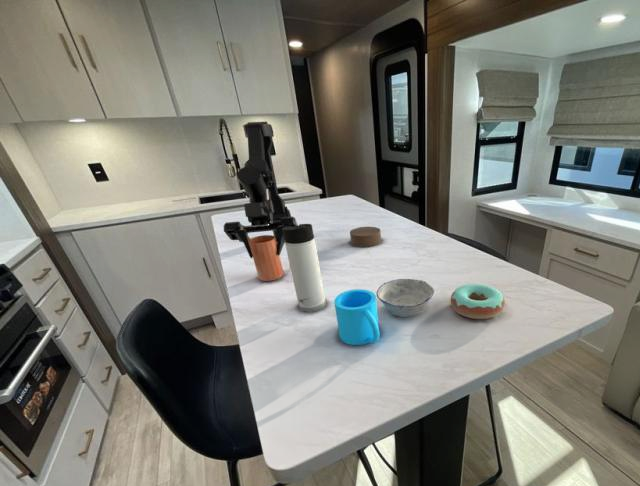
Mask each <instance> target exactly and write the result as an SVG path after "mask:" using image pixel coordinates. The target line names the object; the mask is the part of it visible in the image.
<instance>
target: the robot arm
mask: <svg viewBox="0 0 640 486" xmlns="http://www.w3.org/2000/svg"><path fill="white" fill-rule="evenodd" d="M242 128H243V132H244V136H245V139H247V150H248V159H247V160H246V162H244V165H243V167H242V168H240V169H239V170H238V173H237V179H238V180H239V181H238V182H239V183H240V184H241V186H242V188H243V190H244V192H245V193H246V195H247V196H248V197H249V203H243V207H244V214H245V217H246V218H247V222H248V223H250V225H244V224H242V223H241V222H240V221H239V220H238V221H228V222H225V223H224V225H223V232H224V234H225V235H226V236H227V237H228V238H229V240H231V241H238V242H240V243H243V245H244V247H245V249H246V252H247V255H248V256H249V258H250V259H253V256H252V253H251V249H250V246H249V242H248V241H249V240H250V239H251V238H250V237H249V234H252V233H260V232H262V233H265V232H272V234H273V236H274V237H275V239H276V243H277V254H278V255H279V256H280V255H281V253H282V250H283V247H284V245H285V240H284V235H283V231H282V228H284V227H288V226H291V227H292V226H299V224H298V223H297V220H296V217H294V216H292V214H291V211H290V209H289V208H288V206H286V203H285V201H284V200H283V198H282V197H281V196H280V195H279V191H278V190H279V189H278V185H277V178H276V175H275V170H274V164H273V160H272V159H273V158H272V154H271V150H272V147H273V145H274V140H273V137H274V129H273V126H272V124H271V123H268V121H248V122H247V123H245V124H243V125H242Z"/></svg>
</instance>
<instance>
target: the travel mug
mask: <svg viewBox="0 0 640 486" xmlns="http://www.w3.org/2000/svg"><path fill="white" fill-rule="evenodd" d="M282 231H283V235H284V240H285V243H284V245H285V250H286V254H287V260H288V264H289V268H290V273H291V277H292V281H293V285H294V291H295V295H296V300H297V304H298V308H299V309H300V310H301V311H302V312H307V313H310V312H311V313H313V312H316V311H319V310H322V309H323V308H324V307H325V306H326V298H325V291H324V284H323V279H322V274H321V273H322V272H321V268H320V263H319V257H318V256H319V255H318V251H317V244H316V240H315V236H314V229H313V225H312V223H301V224H300V223H299V224H298V226H292V227H291V226H288V227H284V228H282Z"/></svg>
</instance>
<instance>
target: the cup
mask: <svg viewBox="0 0 640 486" xmlns="http://www.w3.org/2000/svg"><path fill="white" fill-rule="evenodd" d="M248 242H249V246H250V249H251V253H252V256H253V258H252V259H253V260H252V261H253V262H254V267H255V270H256V274H257V277H258V279H259V280H260V281H263V282H270V281H276V280H279V279H280V278H282V277H283V276H284V268H283V264H282V261H281V257H280V255H278V254H277V241H276V239H275V237H274V235H272V234H271V235H270V234H265V235H264V234H262V235H258V236H253V237H251V238H250V240H249V241H248Z"/></svg>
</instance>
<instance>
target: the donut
mask: <svg viewBox="0 0 640 486" xmlns="http://www.w3.org/2000/svg"><path fill="white" fill-rule="evenodd" d="M450 304H451V307H452V309H453V310H454V311H455V312H456V313H457V314H458V315H461V316H463V317H466V318H469V319H473V320H474V319H475V320H486V319H491V318H494V317H496V316H499V314H501V313H502V311H503V310H504V308H505V304H506V301H505V298H504V296H503V294H502V292H501V291H499V290H498V289H496V288H495V287H493V286H489V285H487V284H480V283H469V284H464V285H462V286H459V287H457V288H456V289H454V291H453V292H452V294H451V296H450Z"/></svg>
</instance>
